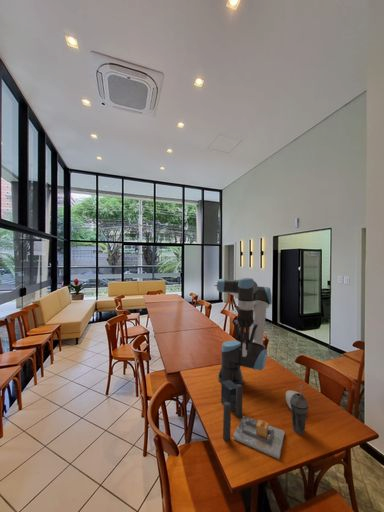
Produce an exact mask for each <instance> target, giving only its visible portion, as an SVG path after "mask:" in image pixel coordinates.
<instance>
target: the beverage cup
mask: <svg viewBox="0 0 384 512" xmlns="http://www.w3.org/2000/svg"><path fill="white" fill-rule="evenodd" d="M302 391H303V384H300V391H299V392H298V393H295V394H293V395H292V397H291V399H290V404H291V409H290V410H291V420H292V421H291V423H292V429H293V432H295V433H296V434H299V435H303V434H305V431H306V422H307V413H308V409H309V404H308V403H309V402H308V400H307V398H306V397H305V396H304V395H303V394H302ZM299 393H300V394H299Z"/></svg>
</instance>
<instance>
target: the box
mask: <svg viewBox="0 0 384 512" xmlns="http://www.w3.org/2000/svg"><path fill="white" fill-rule="evenodd" d="M220 384H221V385H220V387H221V390H220V392H221V394H220V395H221V398H220V401H221V404H223V405H224V403H225V402H229V403H230V404H231V411H234V410H236V384H234V383H233V382H232V381H231V380H227V381H223V382H222V383H220Z"/></svg>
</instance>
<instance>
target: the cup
mask: <svg viewBox="0 0 384 512" xmlns="http://www.w3.org/2000/svg"><path fill="white" fill-rule="evenodd" d="M295 393H299V394H300V392H298V391H296V390H287V391H286V392H285V401H286V404H287V406H288V407H289V409H290V410H291V404H290V399H291V397H292V395H293V394H295Z"/></svg>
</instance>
